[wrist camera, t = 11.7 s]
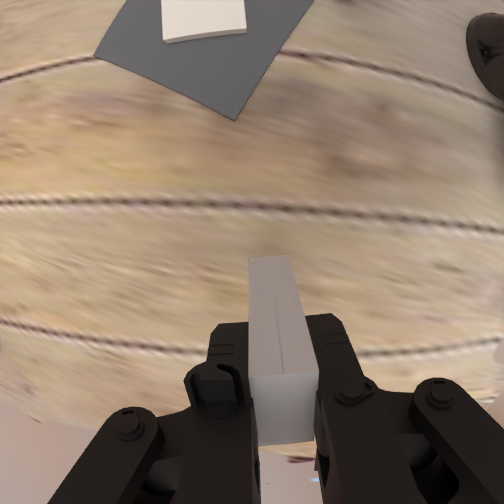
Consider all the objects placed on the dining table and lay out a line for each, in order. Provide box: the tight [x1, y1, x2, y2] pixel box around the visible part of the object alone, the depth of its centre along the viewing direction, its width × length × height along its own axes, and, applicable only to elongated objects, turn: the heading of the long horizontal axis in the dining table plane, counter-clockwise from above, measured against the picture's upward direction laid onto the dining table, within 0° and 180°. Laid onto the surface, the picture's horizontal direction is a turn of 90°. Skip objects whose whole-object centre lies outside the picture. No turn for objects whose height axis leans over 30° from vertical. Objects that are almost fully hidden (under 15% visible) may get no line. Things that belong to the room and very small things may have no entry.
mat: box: [93, 0, 314, 121], centre depth 32 cm, size 22×20×1 cm
